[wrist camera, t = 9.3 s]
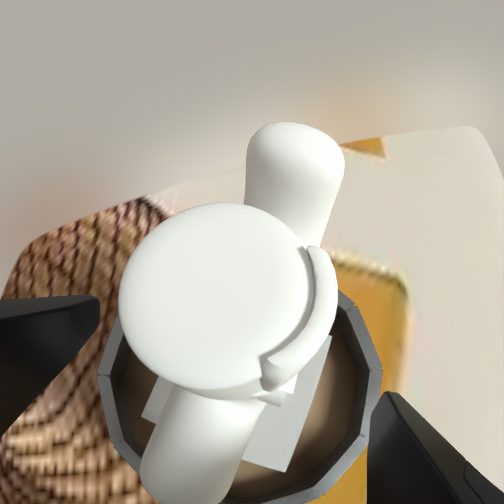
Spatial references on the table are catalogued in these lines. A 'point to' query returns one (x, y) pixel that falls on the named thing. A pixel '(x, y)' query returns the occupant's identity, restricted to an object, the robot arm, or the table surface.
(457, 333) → the table surface
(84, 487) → the table surface
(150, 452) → the figurine
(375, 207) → the table surface
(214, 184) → the table surface
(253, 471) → the brown round plate
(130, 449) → the round grey tray
